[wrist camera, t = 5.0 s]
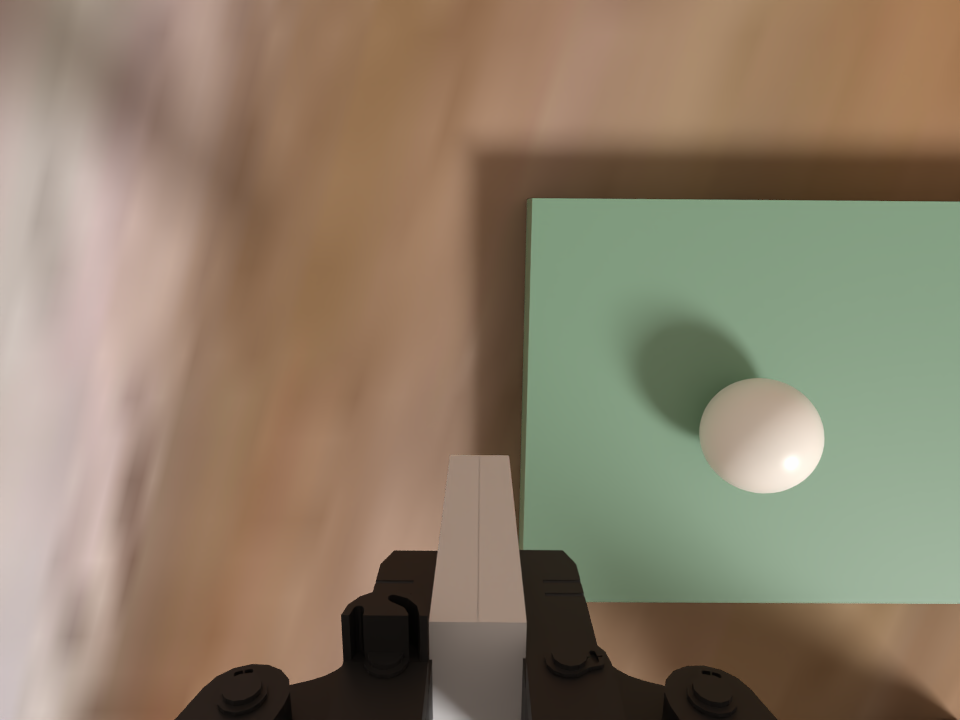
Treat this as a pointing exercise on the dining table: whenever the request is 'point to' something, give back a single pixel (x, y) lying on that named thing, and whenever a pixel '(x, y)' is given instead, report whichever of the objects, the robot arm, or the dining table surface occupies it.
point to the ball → (761, 435)
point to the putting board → (731, 358)
